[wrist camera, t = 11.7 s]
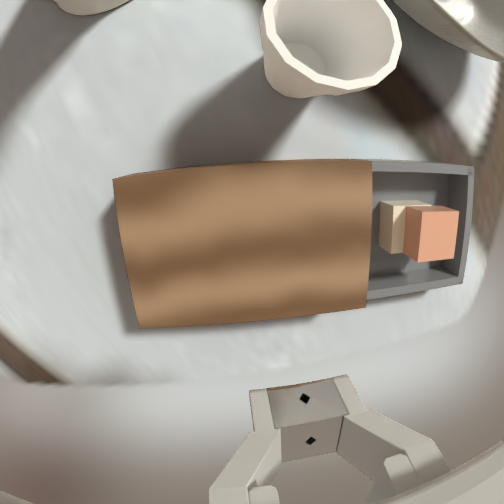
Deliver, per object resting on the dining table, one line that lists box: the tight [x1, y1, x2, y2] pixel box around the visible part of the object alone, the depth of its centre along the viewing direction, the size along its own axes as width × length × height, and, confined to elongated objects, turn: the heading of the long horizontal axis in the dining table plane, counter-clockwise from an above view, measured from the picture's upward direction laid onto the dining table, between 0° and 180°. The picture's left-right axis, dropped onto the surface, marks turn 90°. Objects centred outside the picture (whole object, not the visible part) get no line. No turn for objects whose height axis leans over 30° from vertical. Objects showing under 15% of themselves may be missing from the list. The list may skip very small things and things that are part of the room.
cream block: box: [378, 200, 432, 254], centre depth 31 cm, size 5×5×3 cm
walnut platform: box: [112, 159, 372, 328], centre depth 29 cm, size 14×22×6 cm, turn 93°
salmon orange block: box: [403, 206, 459, 262], centre depth 28 cm, size 5×5×3 cm
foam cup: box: [259, 0, 402, 99], centre depth 21 cm, size 10×9×13 cm
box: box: [354, 159, 474, 300], centre depth 31 cm, size 14×14×4 cm
